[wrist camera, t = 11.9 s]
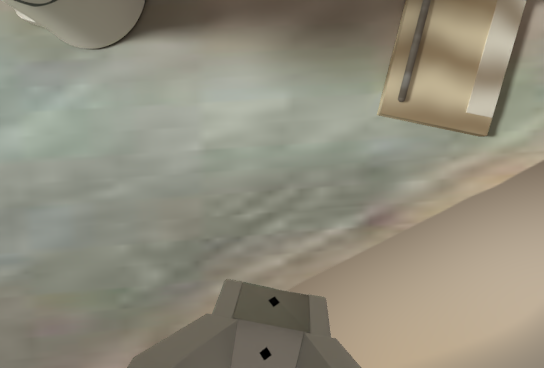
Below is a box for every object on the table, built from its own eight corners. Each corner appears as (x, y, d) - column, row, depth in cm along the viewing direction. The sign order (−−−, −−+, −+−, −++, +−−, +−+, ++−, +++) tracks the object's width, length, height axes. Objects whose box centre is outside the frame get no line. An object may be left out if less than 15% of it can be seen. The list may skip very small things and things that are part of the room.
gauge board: (479, 136, 37) (491, 135, 35) (376, 115, 38) (381, 112, 36) (548, -104, 34) (566, -122, 32) (436, -123, 35) (445, -142, 33)
